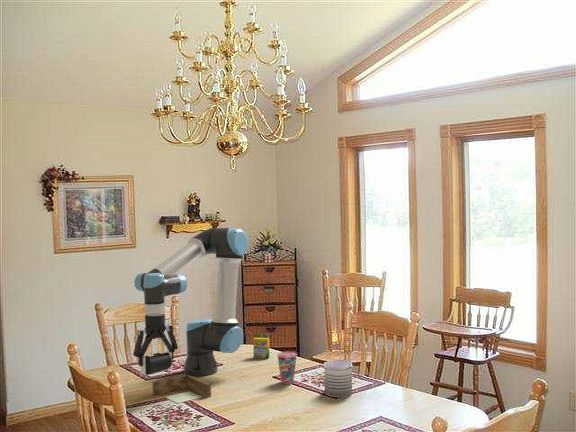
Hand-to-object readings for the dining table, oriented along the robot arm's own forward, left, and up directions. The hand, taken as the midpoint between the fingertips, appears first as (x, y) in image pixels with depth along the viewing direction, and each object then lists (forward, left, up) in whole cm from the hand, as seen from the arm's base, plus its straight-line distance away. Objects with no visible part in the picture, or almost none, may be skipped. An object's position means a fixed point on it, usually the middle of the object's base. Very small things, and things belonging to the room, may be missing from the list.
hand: (156, 371), depth 247 cm
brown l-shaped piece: (-11, 0, -12) cm, 16 cm away
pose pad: (-10, +3, -12) cm, 16 cm away
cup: (-54, +14, -12) cm, 57 cm away
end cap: (0, 0, -1) cm, 1 cm away
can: (-60, +38, -12) cm, 72 cm away
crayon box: (-70, -26, -12) cm, 75 cm away
